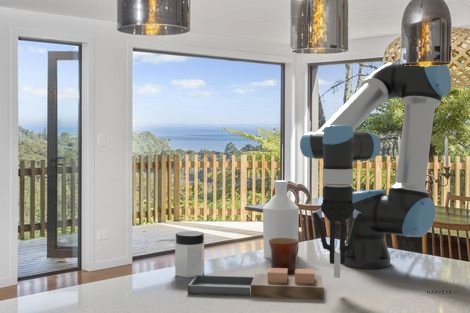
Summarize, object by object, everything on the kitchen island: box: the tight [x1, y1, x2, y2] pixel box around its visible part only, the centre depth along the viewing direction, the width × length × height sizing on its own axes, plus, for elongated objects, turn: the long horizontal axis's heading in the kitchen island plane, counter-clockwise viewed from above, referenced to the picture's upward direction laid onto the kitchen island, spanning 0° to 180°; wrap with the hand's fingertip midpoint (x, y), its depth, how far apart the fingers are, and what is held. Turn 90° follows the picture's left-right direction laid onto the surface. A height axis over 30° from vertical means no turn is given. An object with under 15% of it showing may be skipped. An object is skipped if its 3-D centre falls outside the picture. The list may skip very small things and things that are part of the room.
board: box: [250, 273, 324, 300], centre depth 156 cm, size 18×12×3 cm, turn 83°
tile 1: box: [267, 267, 288, 283], centre depth 156 cm, size 5×5×2 cm
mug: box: [269, 238, 300, 275], centre depth 174 cm, size 12×9×10 cm
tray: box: [187, 274, 254, 297], centre depth 159 cm, size 16×11×2 cm
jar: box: [174, 230, 205, 279], centre depth 175 cm, size 9×8×12 cm
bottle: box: [262, 179, 300, 260], centre depth 199 cm, size 12×12×25 cm
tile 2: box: [295, 268, 316, 283], centre depth 156 cm, size 5×5×2 cm
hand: (337, 276), depth 154 cm, fingers closed
